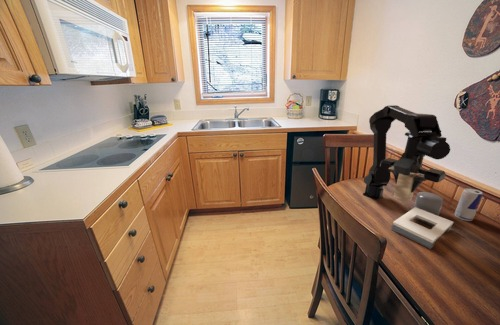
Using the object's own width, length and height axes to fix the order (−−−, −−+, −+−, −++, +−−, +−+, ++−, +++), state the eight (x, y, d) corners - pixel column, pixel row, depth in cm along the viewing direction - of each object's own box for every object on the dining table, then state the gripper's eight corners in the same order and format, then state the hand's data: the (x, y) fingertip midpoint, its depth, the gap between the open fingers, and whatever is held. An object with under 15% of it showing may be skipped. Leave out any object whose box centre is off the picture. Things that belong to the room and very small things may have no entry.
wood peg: (393, 197, 81) (398, 173, 78) (399, 194, 83) (404, 171, 80) (406, 202, 77) (412, 177, 74) (412, 198, 80) (418, 174, 76)
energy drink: (476, 222, 81) (487, 194, 77) (460, 220, 82) (470, 193, 78) (465, 214, 86) (476, 188, 82) (450, 213, 87) (460, 187, 83)
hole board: (391, 229, 78) (393, 221, 77) (413, 214, 87) (415, 207, 86) (430, 249, 68) (433, 240, 67) (450, 229, 77) (453, 221, 76)
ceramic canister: (409, 209, 90) (413, 194, 88) (419, 204, 94) (423, 190, 92) (432, 218, 83) (437, 203, 81) (443, 213, 87) (447, 198, 85)
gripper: (375, 148, 78) (368, 186, 83) (438, 161, 63) (424, 206, 68) (391, 144, 83) (383, 179, 88) (452, 155, 68) (438, 197, 73)
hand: (404, 189), depth 79 cm, fingers closed on wood peg, 4 cm apart
